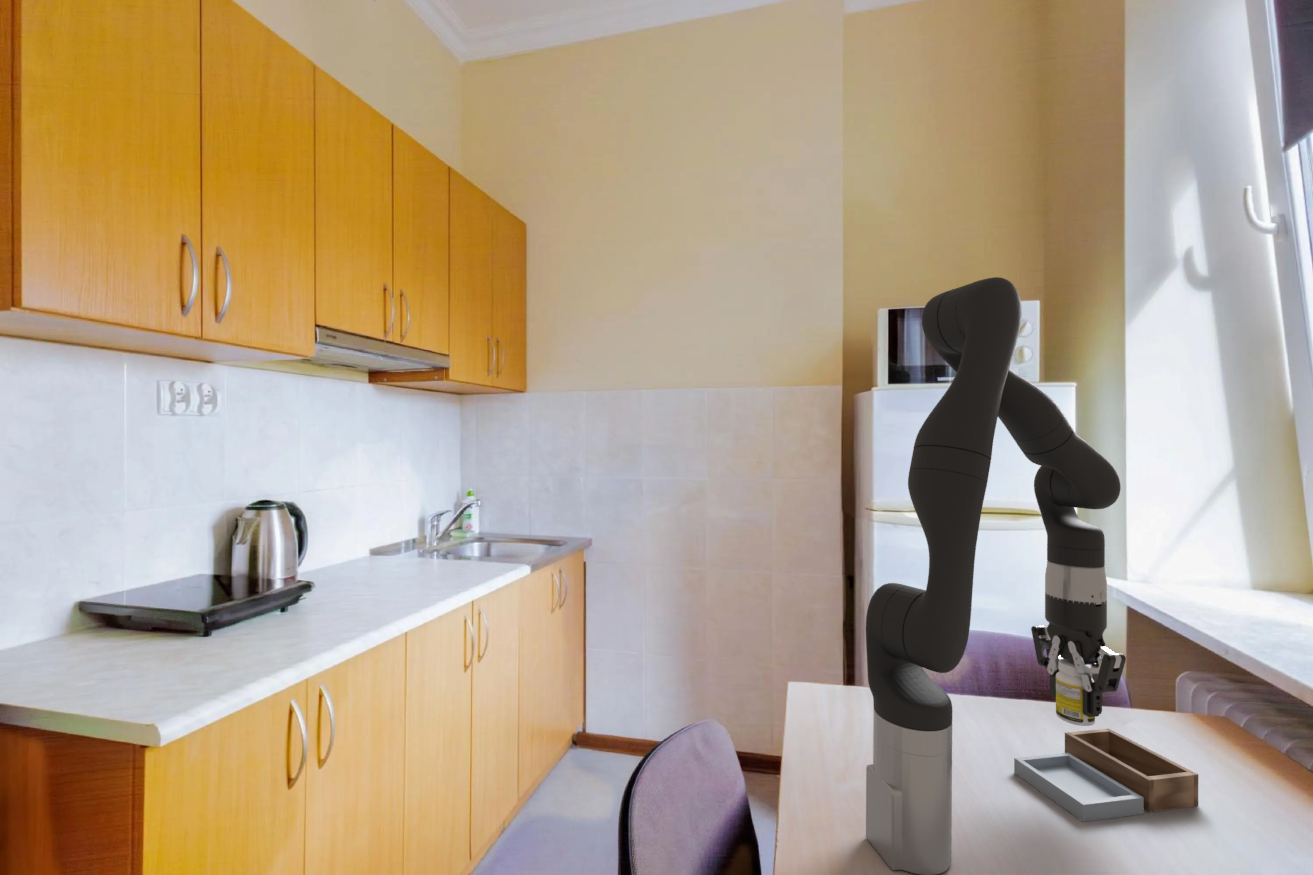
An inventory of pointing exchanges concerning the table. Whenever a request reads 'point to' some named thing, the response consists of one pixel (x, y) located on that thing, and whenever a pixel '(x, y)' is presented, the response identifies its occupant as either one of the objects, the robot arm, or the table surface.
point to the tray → (1078, 786)
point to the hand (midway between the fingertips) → (1074, 706)
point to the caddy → (1136, 768)
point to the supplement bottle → (1070, 695)
